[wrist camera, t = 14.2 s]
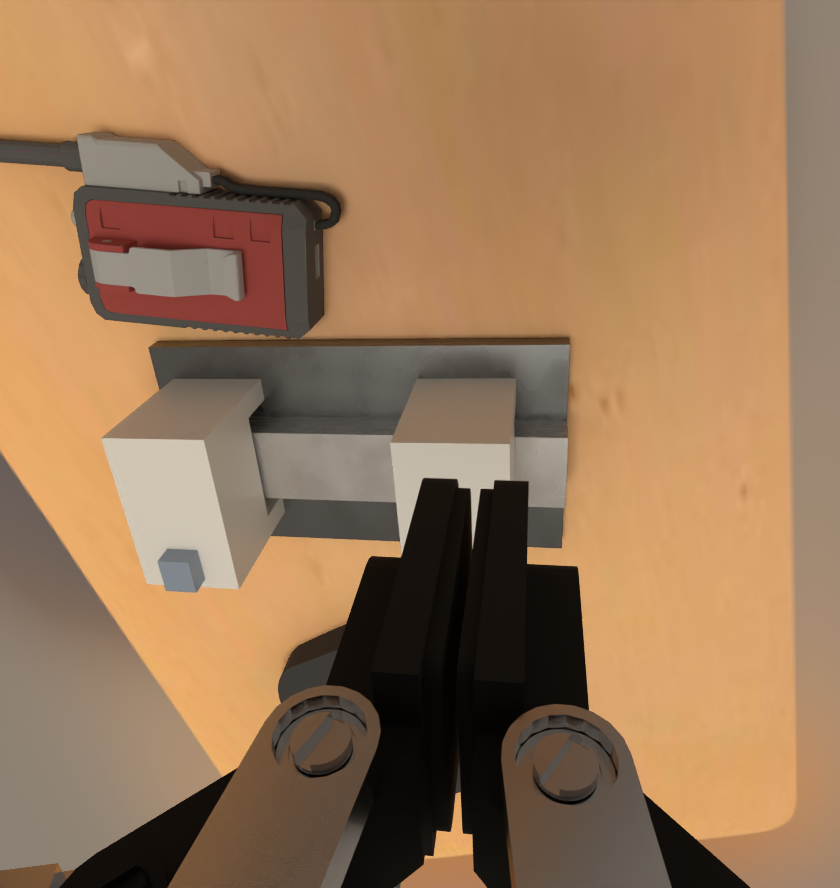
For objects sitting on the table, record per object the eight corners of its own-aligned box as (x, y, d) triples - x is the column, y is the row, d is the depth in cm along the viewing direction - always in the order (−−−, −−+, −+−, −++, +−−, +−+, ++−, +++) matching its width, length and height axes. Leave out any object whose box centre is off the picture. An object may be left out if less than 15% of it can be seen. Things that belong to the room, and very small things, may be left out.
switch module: (416, 378, 35) (385, 454, 28) (516, 378, 34) (508, 456, 27) (427, 518, 39) (402, 615, 32) (516, 521, 38) (510, 621, 31)
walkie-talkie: (347, 147, 32) (-46, 120, 34) (320, 157, 28) (-122, 125, 30) (348, 329, 36) (-2, 294, 38) (324, 360, 32) (-63, 318, 34)
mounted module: (173, 378, 37) (88, 448, 30) (260, 379, 36) (193, 450, 29) (205, 508, 41) (136, 596, 34) (284, 511, 40) (230, 602, 33)
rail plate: (157, 341, 37) (128, 361, 35) (569, 337, 34) (571, 359, 31) (203, 523, 43) (181, 552, 40) (561, 537, 39) (562, 570, 37)
